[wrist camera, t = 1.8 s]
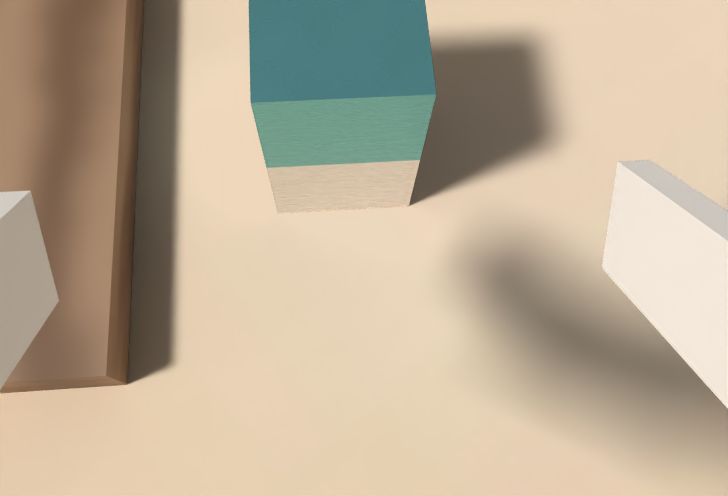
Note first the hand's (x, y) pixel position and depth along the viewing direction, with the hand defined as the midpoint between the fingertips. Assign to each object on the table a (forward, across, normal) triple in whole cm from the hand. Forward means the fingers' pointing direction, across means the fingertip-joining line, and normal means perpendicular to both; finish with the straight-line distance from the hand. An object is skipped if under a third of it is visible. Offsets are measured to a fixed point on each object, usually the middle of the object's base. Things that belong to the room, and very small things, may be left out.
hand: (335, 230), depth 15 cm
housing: (+21, +1, -5) cm, 22 cm away
